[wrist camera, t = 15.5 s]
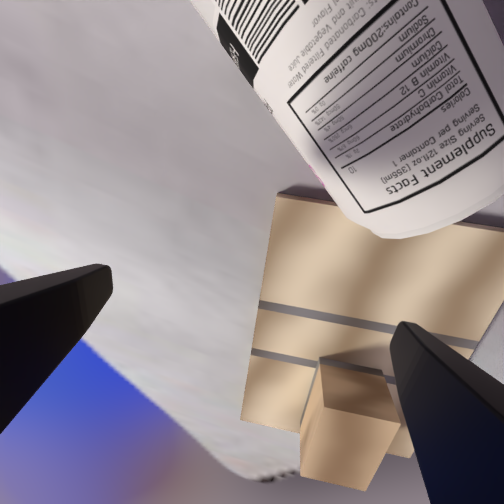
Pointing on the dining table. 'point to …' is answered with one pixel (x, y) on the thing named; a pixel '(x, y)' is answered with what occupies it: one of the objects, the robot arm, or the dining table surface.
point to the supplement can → (380, 100)
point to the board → (361, 302)
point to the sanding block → (346, 424)
